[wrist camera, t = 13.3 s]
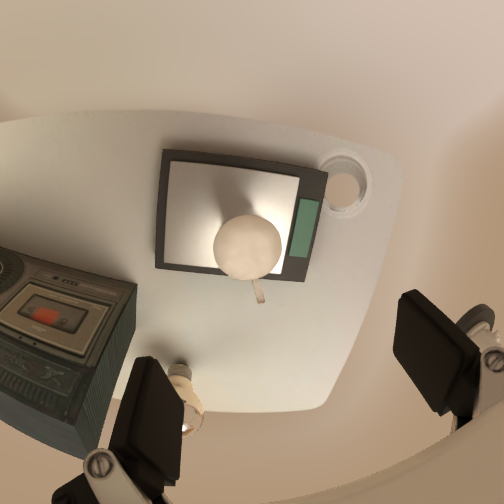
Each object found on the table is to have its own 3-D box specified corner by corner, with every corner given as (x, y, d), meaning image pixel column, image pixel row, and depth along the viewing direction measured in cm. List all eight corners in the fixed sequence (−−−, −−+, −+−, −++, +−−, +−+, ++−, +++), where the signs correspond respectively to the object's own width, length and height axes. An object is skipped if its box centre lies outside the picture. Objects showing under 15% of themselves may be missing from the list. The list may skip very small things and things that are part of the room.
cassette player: (137, 284, 30) (74, 426, 12) (135, 329, 32) (93, 463, 14) (-20, 240, 24) (-102, 301, 6) (-14, 279, 27) (-84, 348, 8)
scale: (320, 170, 28) (330, 173, 25) (298, 272, 32) (305, 284, 29) (167, 149, 25) (161, 149, 22) (159, 259, 29) (153, 270, 26)
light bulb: (195, 386, 37) (192, 452, 26) (151, 372, 35) (138, 438, 24) (212, 358, 35) (213, 430, 24) (164, 341, 33) (150, 413, 22)
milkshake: (223, 253, 26) (226, 311, 17) (210, 201, 24) (203, 234, 15) (269, 243, 27) (295, 294, 17) (258, 189, 25) (282, 215, 15)
